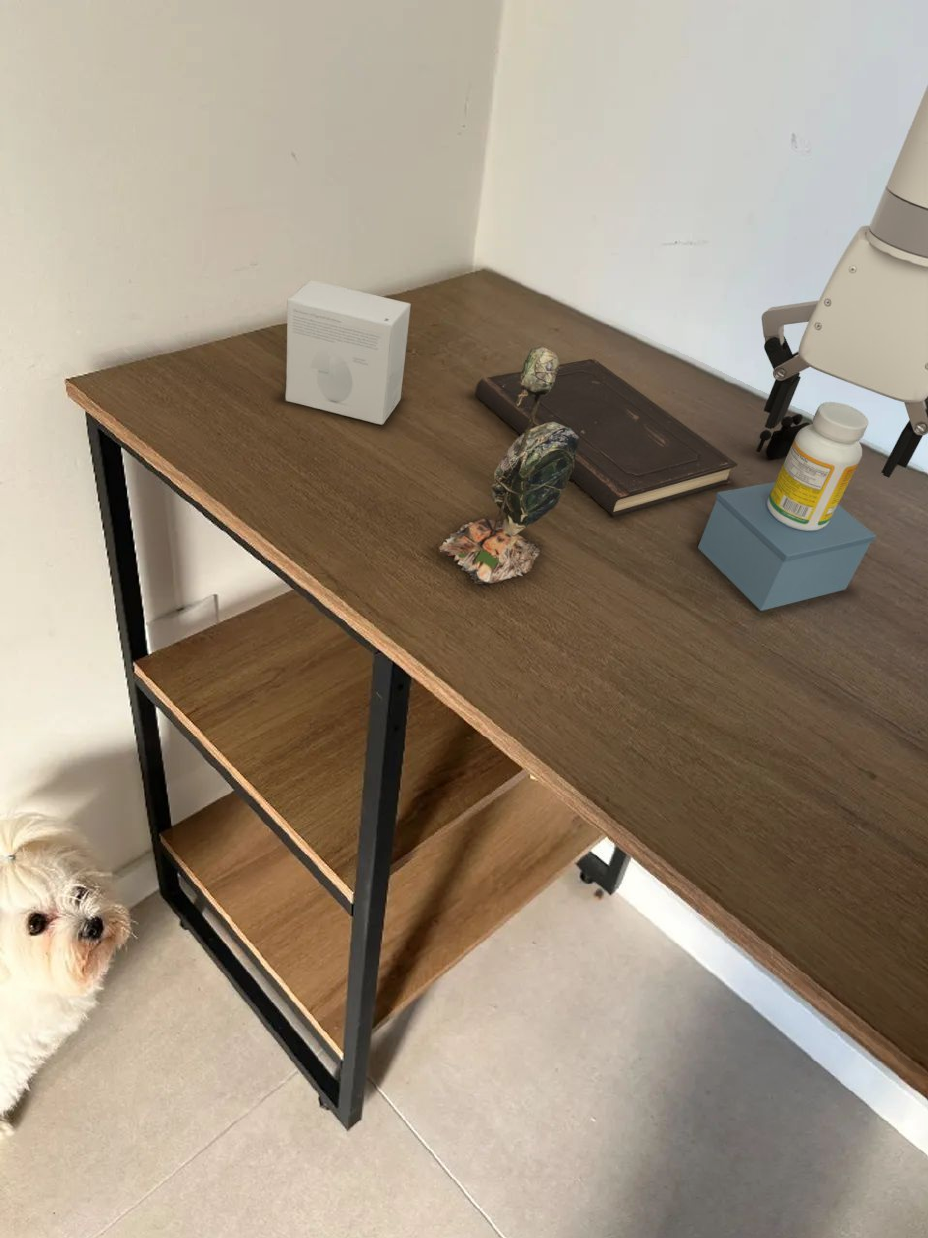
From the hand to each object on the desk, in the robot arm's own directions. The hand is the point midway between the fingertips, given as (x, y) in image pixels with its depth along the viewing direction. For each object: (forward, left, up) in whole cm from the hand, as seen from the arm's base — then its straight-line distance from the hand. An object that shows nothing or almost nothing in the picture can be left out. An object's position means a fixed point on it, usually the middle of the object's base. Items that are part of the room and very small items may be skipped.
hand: (830, 445), depth 75 cm
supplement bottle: (0, 0, -7) cm, 7 cm away
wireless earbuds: (+15, -14, -13) cm, 25 cm away
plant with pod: (+9, +23, -13) cm, 28 cm away
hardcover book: (+23, +4, -13) cm, 27 cm away
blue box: (0, 0, -13) cm, 13 cm away
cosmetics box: (+36, +27, -13) cm, 47 cm away
